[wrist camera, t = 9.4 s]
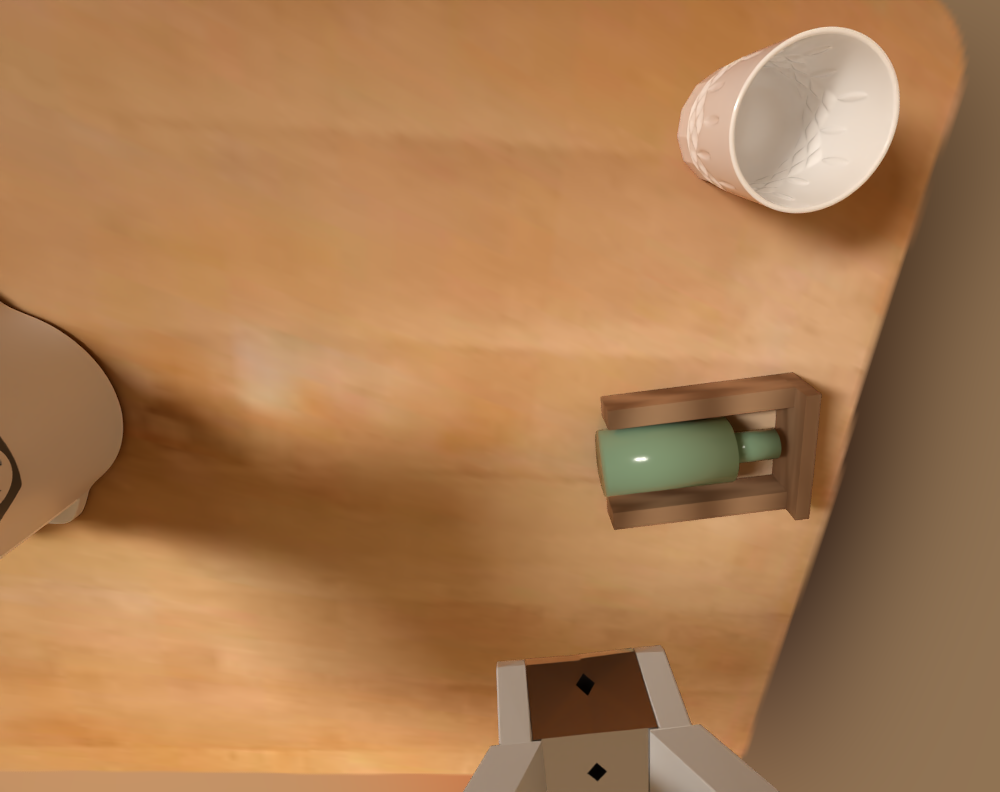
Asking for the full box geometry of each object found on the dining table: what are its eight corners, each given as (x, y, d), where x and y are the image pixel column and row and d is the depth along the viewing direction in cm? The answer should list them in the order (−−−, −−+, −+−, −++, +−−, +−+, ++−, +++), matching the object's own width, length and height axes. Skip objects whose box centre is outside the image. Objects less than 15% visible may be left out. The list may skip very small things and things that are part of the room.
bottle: (611, 504, 42) (792, 483, 41) (603, 435, 41) (787, 414, 41) (599, 488, 46) (762, 469, 46) (593, 426, 46) (757, 407, 46)
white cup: (679, 48, 35) (750, 19, 26) (810, 58, 36) (924, 33, 27) (657, 190, 39) (714, 208, 29) (777, 197, 39) (870, 217, 30)
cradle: (607, 510, 48) (618, 542, 44) (600, 396, 44) (612, 420, 40) (783, 489, 48) (809, 518, 44) (792, 372, 44) (821, 394, 40)
